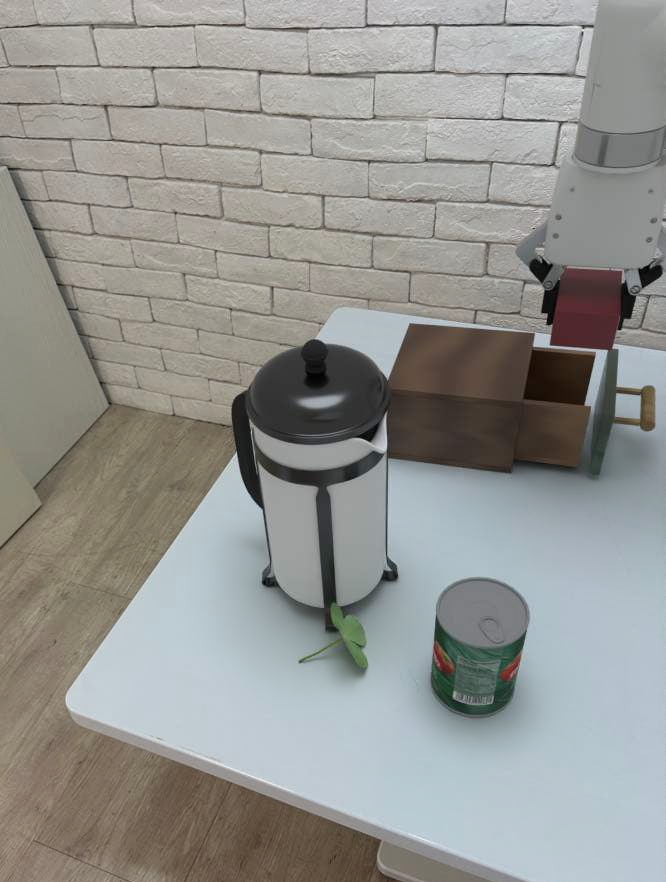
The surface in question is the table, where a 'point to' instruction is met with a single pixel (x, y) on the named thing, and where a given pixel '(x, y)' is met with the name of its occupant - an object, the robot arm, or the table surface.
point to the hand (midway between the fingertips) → (583, 319)
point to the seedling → (347, 635)
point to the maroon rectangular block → (587, 309)
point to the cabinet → (458, 396)
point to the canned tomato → (478, 645)
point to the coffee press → (319, 471)
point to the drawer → (572, 407)
